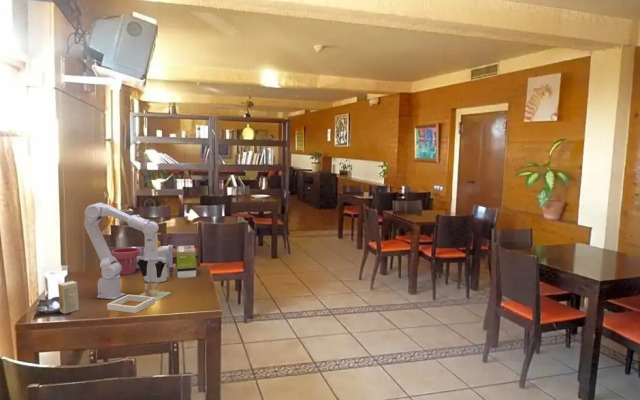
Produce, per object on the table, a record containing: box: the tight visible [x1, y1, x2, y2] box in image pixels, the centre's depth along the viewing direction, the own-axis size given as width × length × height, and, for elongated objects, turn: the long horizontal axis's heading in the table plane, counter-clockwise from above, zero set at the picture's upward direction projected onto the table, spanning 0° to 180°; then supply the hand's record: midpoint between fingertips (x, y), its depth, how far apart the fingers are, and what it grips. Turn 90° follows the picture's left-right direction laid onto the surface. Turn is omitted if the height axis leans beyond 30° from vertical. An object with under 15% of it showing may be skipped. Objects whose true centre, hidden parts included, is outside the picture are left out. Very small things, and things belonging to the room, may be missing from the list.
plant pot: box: [111, 247, 141, 276], centre depth 260 cm, size 14×14×13 cm
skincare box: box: [57, 280, 80, 315], centre depth 198 cm, size 6×4×12 cm
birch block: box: [144, 281, 159, 297], centre depth 219 cm, size 4×4×6 cm
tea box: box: [176, 244, 197, 279], centre depth 258 cm, size 15×10×15 cm
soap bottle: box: [143, 232, 168, 284], centre depth 243 cm, size 9×9×25 cm
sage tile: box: [138, 290, 172, 302], centre depth 220 cm, size 12×12×1 cm
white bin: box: [106, 294, 156, 314], centre depth 205 cm, size 14×14×2 cm
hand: (151, 276), depth 219 cm, fingers open, 7 cm apart
